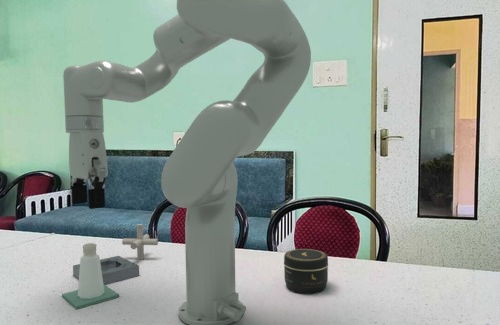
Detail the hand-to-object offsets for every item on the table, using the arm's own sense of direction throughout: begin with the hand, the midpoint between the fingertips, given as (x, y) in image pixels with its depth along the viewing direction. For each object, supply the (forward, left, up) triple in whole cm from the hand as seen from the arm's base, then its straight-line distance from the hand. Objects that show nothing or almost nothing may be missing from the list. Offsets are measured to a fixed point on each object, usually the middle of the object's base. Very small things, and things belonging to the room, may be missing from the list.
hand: (88, 205), depth 84 cm
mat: (0, 0, -20) cm, 20 cm away
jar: (-29, -38, -20) cm, 52 cm away
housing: (+11, -8, -20) cm, 24 cm away
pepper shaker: (0, 0, -20) cm, 20 cm away
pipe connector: (+18, -21, -20) cm, 34 cm away
